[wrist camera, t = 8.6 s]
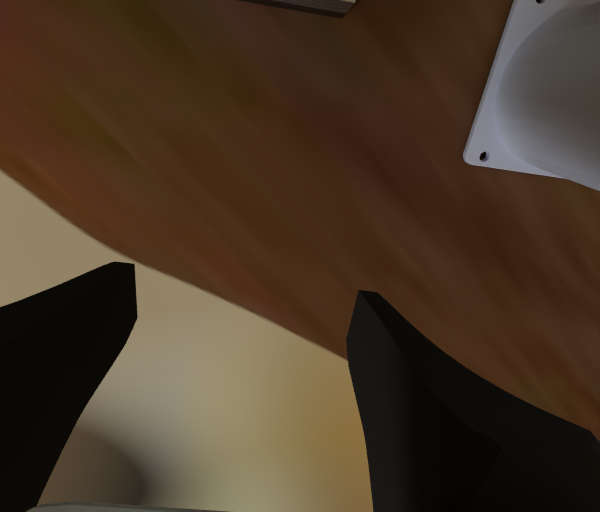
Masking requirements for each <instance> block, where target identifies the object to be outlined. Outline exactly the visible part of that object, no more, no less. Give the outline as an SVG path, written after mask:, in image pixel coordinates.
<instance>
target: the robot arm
mask: <svg viewBox="0 0 600 512" xmlns="http://www.w3.org/2000/svg"><path fill="white" fill-rule="evenodd" d="M483 152H486V157H485V158H484V159H483V160H480V159H479V158H480V155H481V153H483ZM463 158H464V160H465V162H467V163H469V164H471V165H477V166H484V167H491V168H497V169H504V170H511V171H518V172H524V173H531V174H538V175H545V176H552V177H558V178H565V179H569V180H572V181H574V182H577V183H580V184H582V185H585V186H588V187H590V188H593V189H596V190H598V191H600V0H541V2H540V3H539V4H538V3H537V2H536V0H514V1H513V5H512V8H511V11H510V14H509V17H508V20H507V23H506V26H505V29H504V32H503V35H502V38H501V41H500V44H499V47H498V50H497V53H496V56H495V59H494V62H493V65H492V68H491V71H490V74H489V77H488V80H487V83H486V86H485V89H484V92H483V95H482V98H481V101H480V104H479V107H478V111H477V114H476V117H475V120H474V123H473V126H472V129H471V132H470V135H469V138H468V141H467V144H466V147H465V150H464V153H463ZM136 320H137V302H136V284H135V265H134V264H131V263H123V262H112V263H109V264H106V265H103V266H101V267H98V268H96V269H94V270H92V271H89V272H87V273H85V274H83V275H80V276H78V277H76V278H73V279H71V280H69V281H67V282H64V283H62V284H60V285H57V286H55V287H52V288H50V289H47V290H45V291H42V292H40V293H37V294H35V295H32V296H30V297H27V298H25V299H22V300H20V301H17V302H14V303H11V304H8V305H6V306H3V307H0V512H226V511H210V510H196V509H181V508H180V509H179V508H166V507H150V506H137V505H120V504H107V503H92V502H76V501H72V502H62V503H52V504H42V505H39V506H37V503H38V501H39V499H40V497H41V494H42V492H43V490H44V488H45V486H46V483H47V481H48V479H49V477H50V475H51V473H52V471H53V469H54V467H55V465H56V462H57V460H58V458H59V456H60V454H61V452H62V450H63V448H64V446H65V444H66V442H67V440H68V438H69V436H70V434H71V432H72V430H73V428H74V426H75V424H76V422H77V420H78V418H79V417H80V415H81V413H82V412H83V410H84V408H85V406H86V405H87V403H88V402H89V400H90V398H91V397H92V395H93V394H94V392H95V391H96V389H97V388H98V386H99V385H100V383H101V381H102V380H103V378H104V377H105V375H106V374H107V372H108V371H109V369H110V368H111V366H112V365H113V363H114V361H115V360H116V358H117V357H118V355H119V353H120V352H121V350H122V349H123V347H124V345H125V344H126V342H127V340H128V338H129V336H130V333H131V331H132V329H133V327H134V324H135V322H136ZM346 342H347V355H348V364H349V370H350V374H351V378H352V383H353V388H354V392H355V396H356V400H357V405H358V409H359V413H360V417H361V422H362V426H363V431H364V436H365V442H366V449H367V457H368V464H369V473H370V482H371V492H372V501H373V511H374V512H600V442H599V441H598V440H597V439H596V437H595V436H594V435H593V434H592V433H591V432H590V431H589V430H587V429H585V428H583V427H580V426H578V425H576V424H573V423H571V422H569V421H566V420H564V419H562V418H559V417H557V416H555V415H553V414H550V413H548V412H546V411H543V410H541V409H539V408H537V407H535V406H533V405H531V404H529V403H527V402H525V401H523V400H521V399H519V398H517V397H515V396H513V395H511V394H510V393H508V392H506V391H504V390H502V389H500V388H499V387H497V386H495V385H494V384H492V383H490V382H489V381H487V380H485V379H484V378H482V377H480V376H478V375H477V374H475V373H474V372H472V371H471V370H469V369H467V368H466V367H464V366H463V365H462V364H460V363H459V362H457V361H456V360H455V359H453V358H452V357H450V356H449V355H447V354H446V353H445V352H443V351H442V350H441V349H440V348H438V347H437V346H436V345H435V344H433V343H432V342H431V341H430V340H429V339H427V338H426V337H425V336H424V335H423V334H421V333H420V332H419V331H418V330H417V329H416V328H415V327H414V326H412V325H411V324H410V323H409V322H408V321H407V320H406V319H405V318H404V317H403V316H402V315H401V314H400V313H399V312H398V311H397V310H396V309H395V308H393V307H392V306H391V305H390V304H389V303H388V302H387V301H386V300H385V299H384V298H383V297H382V296H381V295H380V294H378V293H377V292H371V291H362V290H359V291H358V295H357V299H356V303H355V307H354V311H353V315H352V319H351V323H350V327H349V331H348V335H347V339H346Z"/></svg>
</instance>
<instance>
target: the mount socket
mask: <svg viewBox="0 0 600 512" xmlns="http://www.w3.org/2000/svg"><path fill="white" fill-rule="evenodd" d="M239 1H245V2H251V3H256V4H262V5H268V6H274V7H279V8H285V9H291V10H296V11H302V12H308V13H313V14H319V15H325V16H331V17H336V18H343V17H344V16H345V14H346V13H347V12H348V11H349V10H350V8H351V7H352V6H353V5H354V4H355V1H356V0H239Z"/></svg>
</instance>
